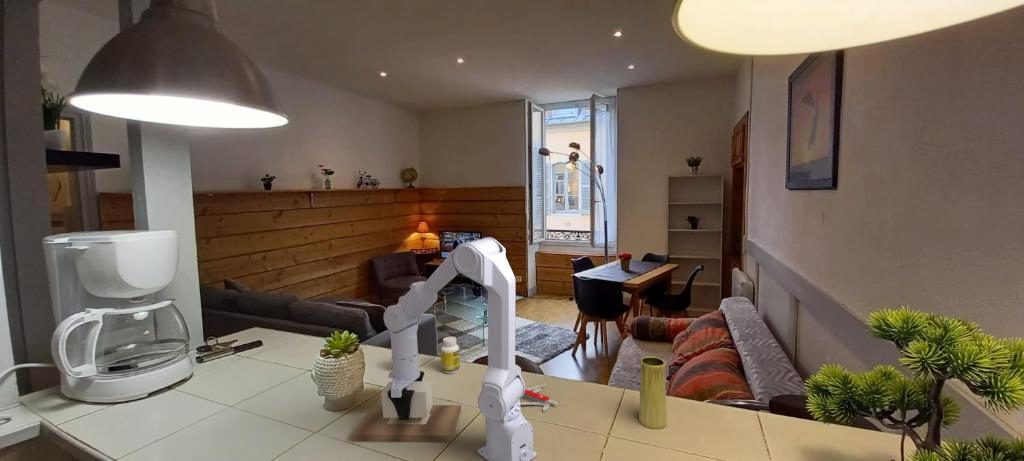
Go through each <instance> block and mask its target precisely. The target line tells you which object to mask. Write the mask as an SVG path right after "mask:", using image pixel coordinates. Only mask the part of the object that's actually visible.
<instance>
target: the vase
mask: <svg viewBox="0 0 1024 461" xmlns="http://www.w3.org/2000/svg"><path fill="white" fill-rule="evenodd" d="M639 388H640V389H639V411H638V421H639V422H640V423H641V424H642V425H643V426H644V427H646V428H649V429H656V430H657V429H658V430H659V429H660V430H661V429H663V428H665V427H666V426H667V424H668V421H667V420H668V419H667V391H666V361H665V360H664V359H662V358H660V357H658V356H644V357H641V359H640V387H639Z"/></svg>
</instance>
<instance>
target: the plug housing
mask: <svg viewBox="0 0 1024 461" xmlns="http://www.w3.org/2000/svg"><path fill="white" fill-rule="evenodd" d="M432 386H433V385H432V380H430V381H427V380H424V381H423V380H422V381H413V382H412V383H410V384H409V385H408V386H406V388H407V390H415V391H414V393H413V396H412V400H411V408H410V417H409V418H427V417H428V414H429V412H430V410H431V408H432V406H433V405H434V403H433V389H432ZM390 388H392V381H389V382H388V383H387V384H386V386H385V387H384V388H383V390H382V391H381V405H382V407H383V418H398V415H397V412H396V409H395V406H394V404H393V403H392V401H391V400H390V399H389V398H388V394H387V392H388V391H389V390H390Z"/></svg>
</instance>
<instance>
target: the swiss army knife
mask: <svg viewBox="0 0 1024 461" xmlns="http://www.w3.org/2000/svg"><path fill="white" fill-rule="evenodd" d="M545 386H546V383H545V384H539V385H536V386H531V387H527V388H525V392H524V395H523V396H522V397H521V398H520V399H522V400H524V401H522V402H520V406H521V405H522V406H529V405H530V406H532V405H533V406H541V407H543V408H542V412H545V411H547V410H549V408H550V405H551V404H550V403H552V404H554V405H557V404H558V402H557V401H556V400H553V399H550V397H549V396H546V395H544V394H540V393H538V392H539V391H541V390H542V388H541V387H545ZM525 401H527V402H525Z"/></svg>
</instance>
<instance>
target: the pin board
mask: <svg viewBox="0 0 1024 461" xmlns="http://www.w3.org/2000/svg"><path fill="white" fill-rule="evenodd" d="M461 413H462V405H461V404H441V405H440V404H436V405H435V404H433V406H432V408H431V410H430V412H429V414H428V417H427V418H409V419H408V420H399V418H383V407H382V404H381V405H377V404H376V405H374V404H373V405H372V406H371V407H370V409H369V410H368V411H367V413H366V414H365V415H364V417H363V418H362V419H361V421H360V422H359V424H357V426H356V428H355V429H354V431H353V432H352V433H351V434H350V441H351V442H359V443H360V442H369V443H370V442H372V443H373V442H375V443H376V442H379V443H380V442H381V443H382V442H385V443H387V442H388V443H390V442H392V443H393V442H395V443H399V442H400V443H401V442H402V443H403V442H404V443H409V442H410V443H411V442H413V443H419V442H420V443H433V442H434V443H436V442H437V443H444V442H445V443H452V439H453V437H454V434H455V432H456V428H457V424H458V421H459V418H460V416H461Z"/></svg>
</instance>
